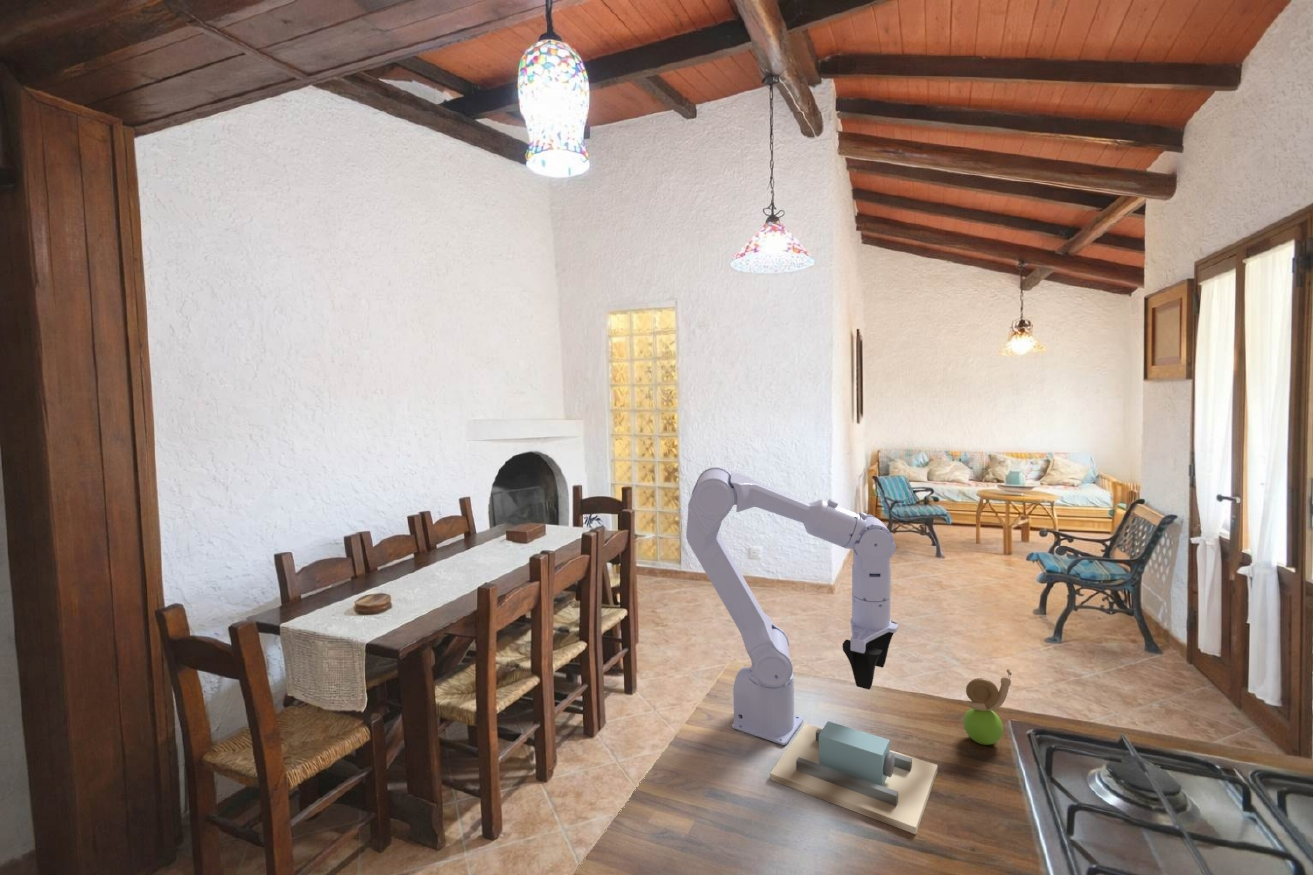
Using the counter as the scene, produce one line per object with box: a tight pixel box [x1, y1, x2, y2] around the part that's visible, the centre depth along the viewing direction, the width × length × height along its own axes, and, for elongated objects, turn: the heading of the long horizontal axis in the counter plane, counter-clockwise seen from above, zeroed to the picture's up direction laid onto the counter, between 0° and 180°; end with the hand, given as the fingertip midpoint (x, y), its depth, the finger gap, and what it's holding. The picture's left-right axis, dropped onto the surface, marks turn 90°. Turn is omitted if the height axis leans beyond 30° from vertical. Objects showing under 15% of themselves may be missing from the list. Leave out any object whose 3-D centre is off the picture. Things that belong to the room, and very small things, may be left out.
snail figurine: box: [963, 668, 1013, 746], centre depth 96 cm, size 5×6×12 cm
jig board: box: [769, 723, 939, 835], centre depth 91 cm, size 20×14×2 cm
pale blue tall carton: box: [819, 721, 895, 786], centre depth 90 cm, size 10×4×5 cm, turn 56°
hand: (870, 675), depth 100 cm, fingers open, 7 cm apart
